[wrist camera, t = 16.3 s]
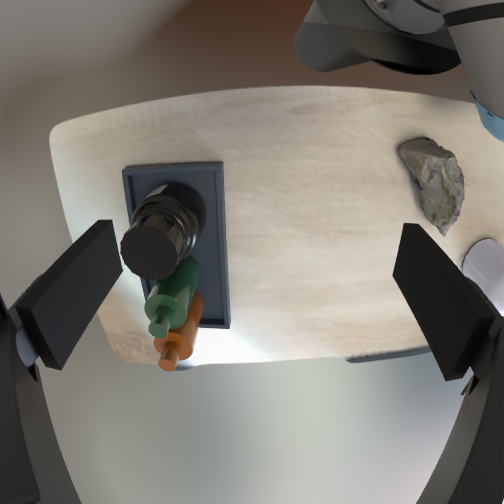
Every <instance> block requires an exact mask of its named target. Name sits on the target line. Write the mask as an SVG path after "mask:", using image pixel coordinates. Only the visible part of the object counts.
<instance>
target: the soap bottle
mask: <svg viewBox="0 0 504 504" xmlns="http://www.w3.org/2000/svg"><path fill="white" fill-rule="evenodd" d="M463 275H464V276H465V277H468V278H470V279H471V280H473V281H474V282H475V283H477V284H478V286H479V287H480V288H481V289H482V291H483V292H484V294H486V296H487V297H488V298H489V300H490V301H491V302H492V303H493V305H494V306H495V307H496V308H497V310H498V311H499V312H500V314H501V315H502V316H504V248H503V247H502V246H501V245H500V244H498V243H497V242H496V241H495V240H492V239H484V240H481V241H480V242H478V243H476V244H475V245H474V246H473V247H472V248H471V249H470V251H469V252H468V254H467V255H466V257H465V260H464V263H463Z"/></svg>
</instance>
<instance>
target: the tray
mask: <svg viewBox="0 0 504 504" xmlns="http://www.w3.org/2000/svg"><path fill="white" fill-rule="evenodd" d="M122 176H123V184H124V191H125V198H126V204H127V211H128V217H129V223H130V227H131V219H132V216H133V213H134V211H135V210H136V208H137V207H138V206H139V204H140V203H141V202H142V201H143V200H144V199H145V198H146V197H147V196H148V195H149V194H150V193H151V192H152V191H153V190H155V189H156V188H157V187H159V186H161V185H164V184H169V183H177V184H182V185H185V186H187V187H189V188H191V189H193V190H194V191H195V192H196V193H198V195H199V196H200V197H201V198H202V200H203V202H204V204H205V208H206V222H205V226H204V228H203V230H202V233H201V235H200V237H199V240H198V242H197V244H196V247H195V248H194V250H193V251H192V253H191V254H190V256H192V257H194V258H195V259H196V260H197V261H198V263H199V265H200V267H201V275H200V278H199V281H198V284H197V287H196V291H197V292H199V293H200V294H201V295H202V297H203V299H204V302H205V305H204V309H203V313H202V317H201V321H200V325H199V328H219V329H230V323H231V316H230V300H229V283H228V265H227V245H226V224H225V201H224V175H223V162H204V163H178V164H159V165H143V166H130V167H126V168H125V169H123V170H122ZM140 279H141V283H142V288H143V292H144V296H145V301H147V299H148V297H149V295H150V293H151V291H152V289H153V287H154V285H155V283H156V281H157V280H155V281H152V280H148V279H143V278H141V277H140ZM150 321H151V320H150Z"/></svg>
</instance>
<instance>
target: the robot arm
mask: <svg viewBox="0 0 504 504" xmlns="http://www.w3.org/2000/svg"><path fill="white" fill-rule="evenodd" d="M362 1H363V2H364V4H365V5H366V6H367V8H368V9H369V10H370V11H371V12H372V13H373V14H374V15H375V16H376V17H377V18H378V19H379V20H381V21H382V22H384V23H385V24H387V25H388V26H390V27H392V28H394V29H396V30H398V31H401V32H404V33H407V34H413V35H425V34H430V33H434V32H437V31H439V30H440V29H442V28H444V27H445V26H446V25H447V27H448V30H449V32H450V34H451V37H452V39H453V41H454V44H455V46H456V49H457V51H458V54H459V57H460V59H461V62H462V65H463V67H464V70H465V73H466V76H467V79H468V82H469V85H470V88H471V91H470V93H471V96H472V98H473V100H474V101H475V103H476V106H477V109H478V112H479V116H480V119H481V122H482V124H483V125H484V127H485V128H486V129H487V130H488V131H489V132H490V134H491V135H493V136H494V137H495V138H497V139H498V140H500V141H502V142H504V0H362ZM122 272H123V269H122V265H121V260H120V256H119V251H118V247H117V242H116V237H115V232H114V227H113V222H112V220H98V221H97V222H95V223H94V224H93V225H92V226H91V227H90V228H89V229H88V230H87V231H86V232H85V233H84V234H83V235H82V236H81V237H80V238H79V239H77V240H76V241H75V242H74V243H73V244H72V245H71V246H70V247H69V248H68V249H67V250H66V251H65V252H64V253H63V254H62V255H61V256H60V257H59V258H58V259H57V260H56V261H55V263H54V264H53V265H52V266H51V267H50V268H49V269H48V270H47V271H46V272H45V273H43V274H42V275H40V276H39V277H37V278H36V279H35V281H34V282H33V283H32V284H31V286H29V287H28V288H27V289H26V290H25V292H24V293H23V294H22V295H21V296H20V297H19V298H18V299H17V300H16V302H15V303H14V304H13V305H12V306H11V307H10V309H9V310H7V308H6V305H5V303H4V301H3V299H2V296H1V294H0V504H82V503H81V501H80V499H79V497H78V494H77V492H76V490H75V487H74V485H73V483H72V480H71V478H70V475H69V472H68V470H67V467H66V465H65V462H64V459H63V457H62V454H61V451H60V448H59V445H58V442H57V439H56V435H55V432H54V429H53V425H52V422H51V419H50V415H49V411H48V407H47V404H46V399H45V396H44V392H43V387H42V382H41V378H40V373H39V368H38V366H37V364H36V363H35V361H36V359H37V358H38V356H40V357H41V359H42V361H43V363H44V364H45V366H46V367H49V368H53V369H57V370H62V368H63V366H64V365H65V363H66V361H67V359H68V358H69V356H70V354H71V353H72V351H73V349H74V347H75V346H76V344H77V342H78V341H79V339H80V337H81V336H82V334H83V332H84V331H85V329H86V327H87V326H88V324H89V322H90V321H91V319H92V318H93V316H94V314H95V313H96V311H97V310H98V308H99V307H100V305H101V304H102V302H103V300H104V299H105V297H106V296H107V294H108V293H109V291H110V290H111V288H112V287H113V285H114V284H115V282H116V281H117V279H118V278H119V276H120V275H121V273H122ZM392 276H393V278H394V279H395V281H396V283H397V285H398V286H399V288H400V290H401V292H402V294H403V296H404V297H405V299H406V301H407V303H408V305H409V307H410V309H411V311H412V312H413V314H414V316H415V318H416V320H417V322H418V324H419V326H420V328H421V330H422V332H423V334H424V336H425V338H426V340H427V342H428V344H429V346H430V348H431V350H432V352H433V355H434V357H435V359H436V361H437V363H438V365H439V367H440V370H441V372H442V374H443V376H444V379H445V381H450V380H455V379H460V378H463V376H464V375H465V373H466V372H467V370H468V368H469V367H471V368H472V370H473V372H474V374H473V376H472V377H471V379H470V381H469V382H468V384H467V385H466V387H465V388H464V390H463V391H462V393H461V395H464V393H465V392H466V393H465V396H464V399H463V402H462V405H461V408H460V411H459V413H458V416H457V419H456V421H455V424H454V427H453V429H452V431H451V434H450V436H449V439H448V441H447V443H446V446H445V448H444V450H443V452H442V455H441V457H440V459H439V461H438V463H437V465H436V467H435V469H434V471H433V473H432V475H431V477H430V479H429V481H428V483H427V485H426V487H425V489H424V491H423V492H422V494H421V496H420V498H419V499H418V501H417V503H416V504H502V502H503V499H504V318H503V317H502V315H501V314H500V312H499V311H498V310H497V308H496V307H495V306H494V305H493V303H492V302H491V301H490V300H489V298H488V297H487V296H486V294H484V292H483V291H482V289H481V288H480V287H479V286H478V284H477V283H475V282H474V281H473V280H471V279H470V278H468V277H465V276H464V275H463V273H462V272H461V271H460V270H459V269H458V267H457V266H456V265H455V264H454V263H453V262H452V260H451V259H450V258H449V257H448V256H447V255H446V253H445V252H444V251H443V250H442V249H441V248H440V247H439V246H438V244H437V243H436V242H435V241H434V240H433V239H432V238H431V237H430V236H429V235H428V234H427V232H426V231H425V230H424V229H423V228H422V227H421V226H420V225H419V224H414V223H404V225H403V230H402V235H401V240H400V245H399V249H398V254H397V258H396V262H395V267H394V271H393V275H392Z"/></svg>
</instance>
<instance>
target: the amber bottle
mask: <svg viewBox="0 0 504 504" xmlns="http://www.w3.org/2000/svg"><path fill="white" fill-rule="evenodd" d="M204 305H205V302H204V299H203V297H202V295H201V294H200V293H199V292H197V291H196V290H195V293H194V296H193V300H192V303H191V306H190V309H189V312H188V315H187V319H186V321H185V323H184V324H183V325H182V326H180V327H178V328H175V329H169V332H168V334H167V336H166V337H165V338H156V337H155V339H154V346H155V348H156V350H157V351H158V352H159V353H160V354H161V357H160V360H159V363H158V364H159V366H160V367H161V368H162V369H164V370H166V371H174V370H175V369H176V366H177V363H178V360H185V359H187V358H189V357H190V356H191V355H192V352H193V348H194V345H195V341H196V337H197V333H198V329H199V325H200V321H201V317H202V313H203V309H204Z"/></svg>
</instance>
